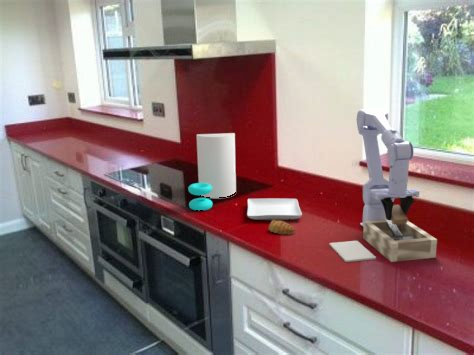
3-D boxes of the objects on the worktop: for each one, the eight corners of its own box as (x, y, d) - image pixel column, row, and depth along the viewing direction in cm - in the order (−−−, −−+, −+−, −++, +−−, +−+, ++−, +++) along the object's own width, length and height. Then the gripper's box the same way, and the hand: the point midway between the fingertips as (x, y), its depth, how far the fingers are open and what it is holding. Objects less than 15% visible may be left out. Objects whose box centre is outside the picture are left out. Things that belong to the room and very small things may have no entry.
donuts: (190, 181, 204) (213, 182, 203) (191, 204, 206) (214, 204, 205) (185, 188, 194) (209, 188, 193) (186, 211, 197) (210, 211, 196)
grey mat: (329, 244, 160) (329, 243, 160) (357, 242, 161) (357, 240, 161) (345, 262, 146) (345, 260, 146) (375, 259, 148) (376, 257, 148)
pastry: (298, 231, 173) (298, 221, 172) (290, 237, 168) (290, 227, 167) (275, 226, 178) (275, 217, 177) (266, 232, 173) (266, 222, 172)
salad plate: (302, 222, 182) (302, 214, 181) (247, 223, 182) (247, 214, 182) (297, 205, 202) (297, 197, 202) (247, 206, 203) (247, 198, 202)
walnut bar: (384, 209, 159) (386, 205, 158) (397, 208, 160) (398, 204, 158) (393, 224, 154) (395, 220, 152) (406, 223, 154) (408, 218, 153)
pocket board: (362, 237, 165) (363, 221, 163) (402, 234, 167) (403, 218, 166) (391, 262, 146) (392, 243, 144) (435, 257, 148) (437, 239, 147)
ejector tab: (375, 223, 160) (376, 220, 159) (402, 221, 162) (403, 217, 161) (392, 254, 150) (394, 251, 149) (421, 251, 151) (423, 248, 150)
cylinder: (237, 197, 214) (236, 136, 207) (199, 199, 213) (196, 137, 206) (234, 187, 231) (233, 130, 223) (199, 188, 230) (196, 131, 222)
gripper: (383, 183, 148) (380, 224, 152) (425, 180, 150) (422, 221, 154) (373, 178, 155) (370, 217, 158) (413, 175, 157) (410, 214, 161)
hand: (395, 218), depth 157 cm, fingers closed on walnut bar, 4 cm apart
